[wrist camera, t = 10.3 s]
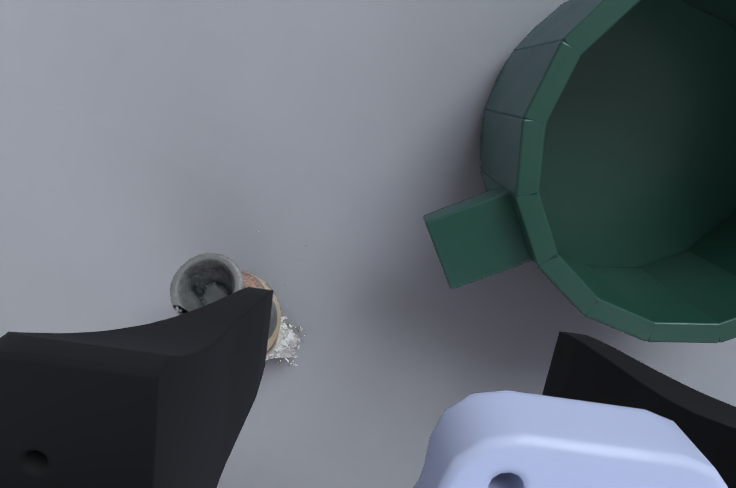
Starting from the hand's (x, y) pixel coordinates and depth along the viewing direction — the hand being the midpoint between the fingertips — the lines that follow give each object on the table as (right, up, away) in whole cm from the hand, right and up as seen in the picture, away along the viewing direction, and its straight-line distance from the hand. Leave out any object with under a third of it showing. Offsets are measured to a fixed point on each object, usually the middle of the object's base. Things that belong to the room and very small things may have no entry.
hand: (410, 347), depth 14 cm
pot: (+9, +7, +8) cm, 14 cm away
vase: (-6, +1, +10) cm, 12 cm away
